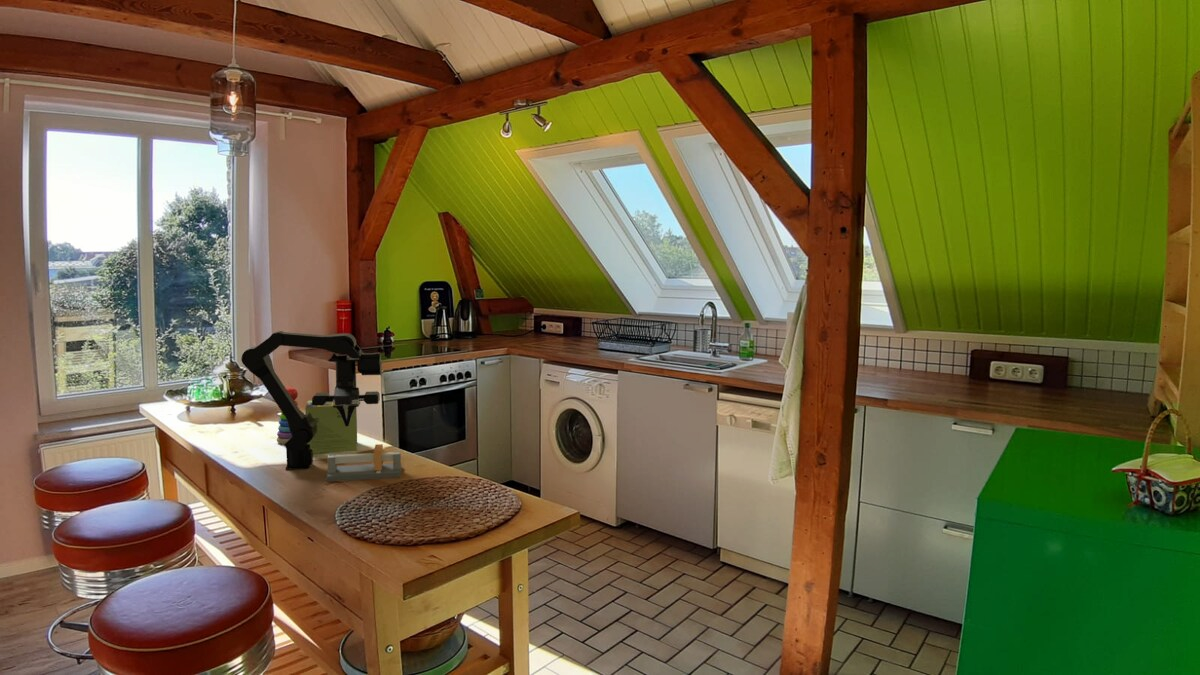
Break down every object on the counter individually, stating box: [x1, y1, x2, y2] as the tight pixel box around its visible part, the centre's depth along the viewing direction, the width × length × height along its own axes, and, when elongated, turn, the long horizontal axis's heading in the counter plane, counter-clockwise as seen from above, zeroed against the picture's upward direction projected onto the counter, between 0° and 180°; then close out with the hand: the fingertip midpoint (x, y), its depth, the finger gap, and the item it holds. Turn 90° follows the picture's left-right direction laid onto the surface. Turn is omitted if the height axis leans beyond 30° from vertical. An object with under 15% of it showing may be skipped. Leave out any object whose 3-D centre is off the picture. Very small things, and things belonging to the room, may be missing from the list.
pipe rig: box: [326, 450, 402, 482], centre depth 198 cm, size 20×9×6 cm, turn 104°
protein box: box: [304, 400, 358, 455], centre depth 222 cm, size 10×15×16 cm
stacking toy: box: [276, 386, 299, 445], centre depth 228 cm, size 8×8×19 cm
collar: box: [373, 443, 384, 471], centre depth 199 cm, size 2×6×6 cm, turn 13°
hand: (347, 426), depth 206 cm, fingers closed
